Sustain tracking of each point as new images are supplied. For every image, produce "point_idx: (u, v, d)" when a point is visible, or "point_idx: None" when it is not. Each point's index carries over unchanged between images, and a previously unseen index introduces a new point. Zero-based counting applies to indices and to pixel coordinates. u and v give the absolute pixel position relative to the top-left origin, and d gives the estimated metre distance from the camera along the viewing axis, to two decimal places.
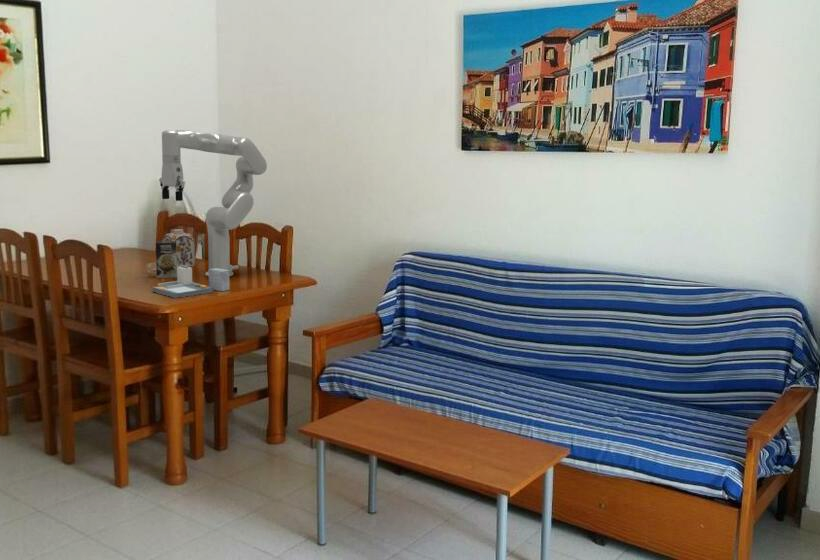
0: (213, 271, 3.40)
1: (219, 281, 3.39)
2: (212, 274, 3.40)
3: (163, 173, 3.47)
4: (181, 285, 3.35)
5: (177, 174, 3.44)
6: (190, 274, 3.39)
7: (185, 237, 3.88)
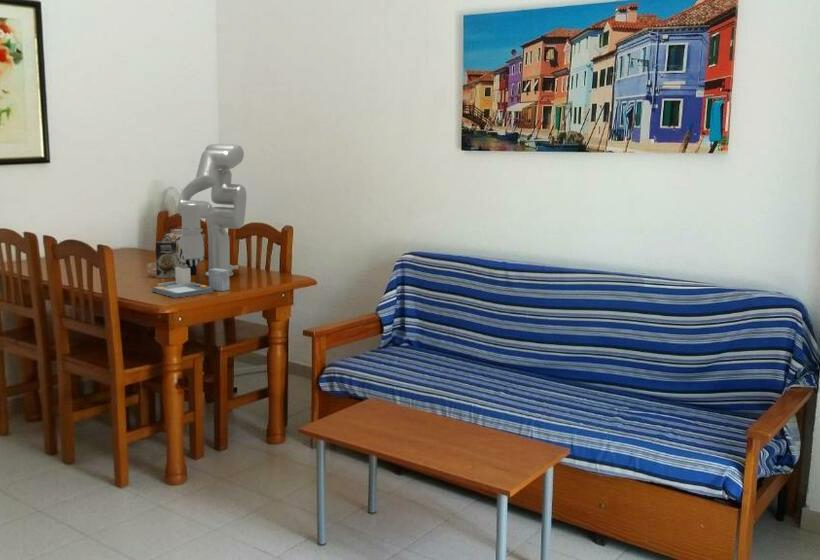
0: (213, 271, 3.40)
1: (219, 281, 3.39)
2: (212, 274, 3.40)
3: (189, 247, 3.37)
4: (181, 285, 3.35)
5: None
6: (188, 274, 3.38)
7: None
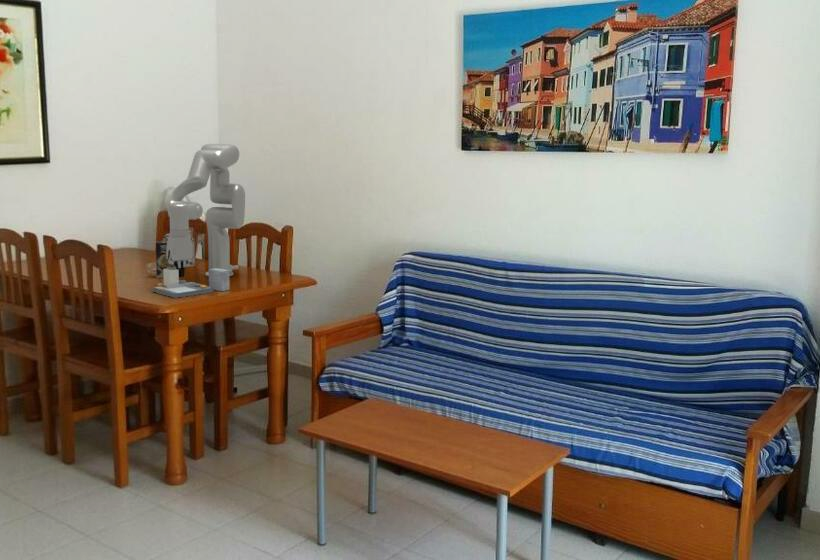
0: (213, 271, 3.40)
1: (219, 281, 3.39)
2: (212, 274, 3.40)
3: (177, 248, 3.32)
4: (181, 285, 3.35)
5: None
6: (176, 276, 3.34)
7: None
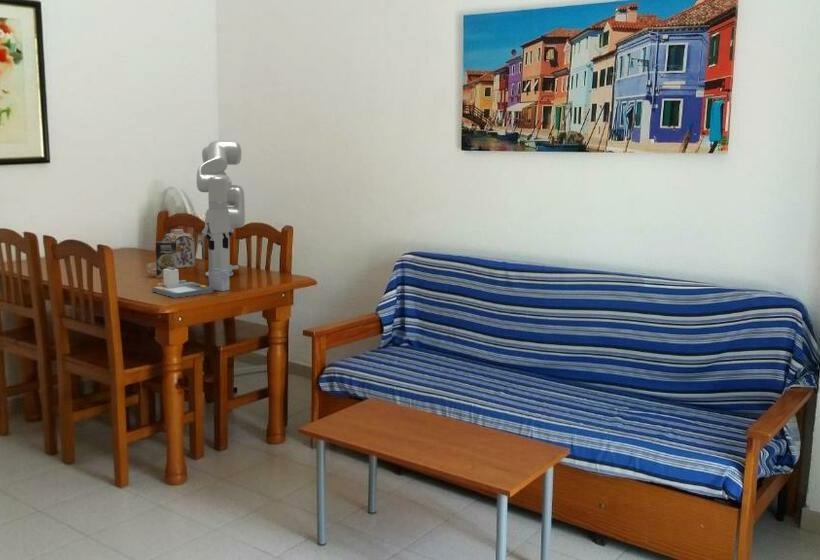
0: (213, 271, 3.40)
1: (219, 281, 3.39)
2: (212, 274, 3.40)
3: (215, 221, 3.33)
4: (181, 285, 3.35)
5: None
6: (176, 276, 3.34)
7: (185, 237, 3.88)
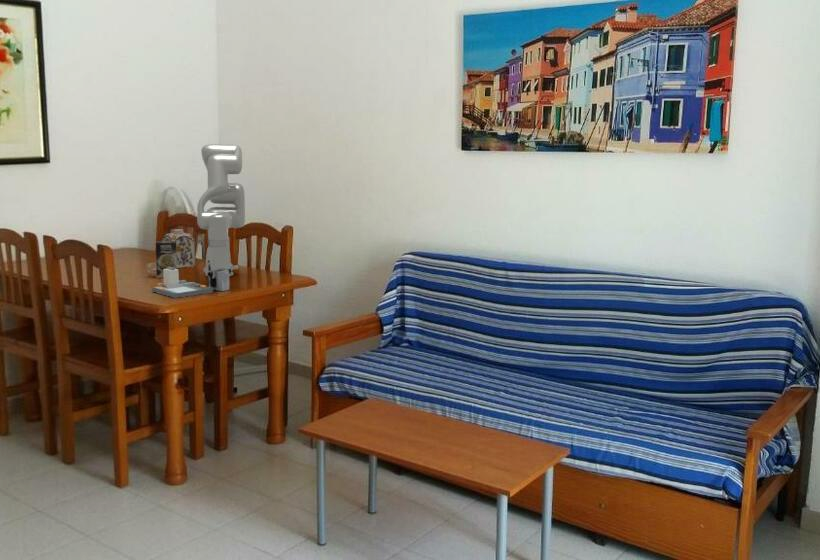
0: None
1: (219, 280, 3.39)
2: None
3: (216, 258, 3.36)
4: (181, 285, 3.35)
5: None
6: (176, 276, 3.34)
7: (185, 237, 3.88)
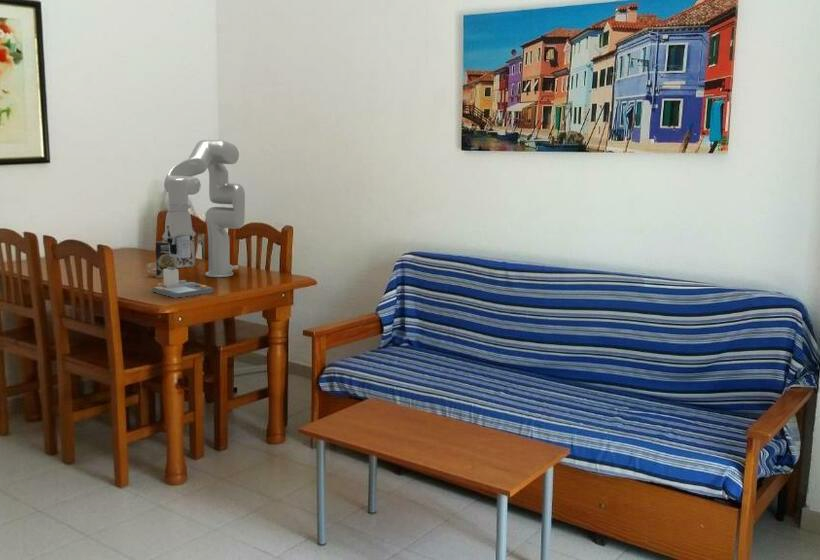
0: None
1: (179, 247, 3.24)
2: None
3: (176, 224, 3.22)
4: (181, 285, 3.35)
5: None
6: (176, 276, 3.34)
7: None
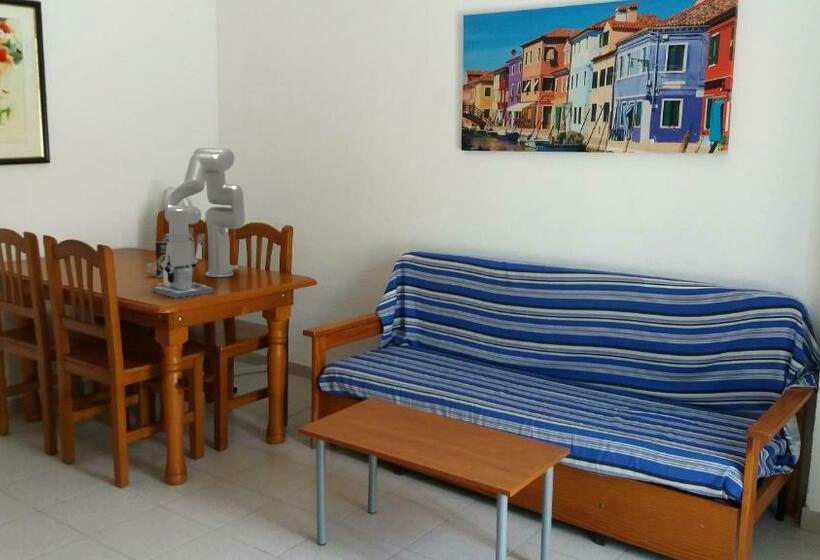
0: (176, 269, 3.27)
1: (180, 279, 3.27)
2: (175, 272, 3.28)
3: (176, 254, 3.24)
4: None
5: None
6: None
7: None
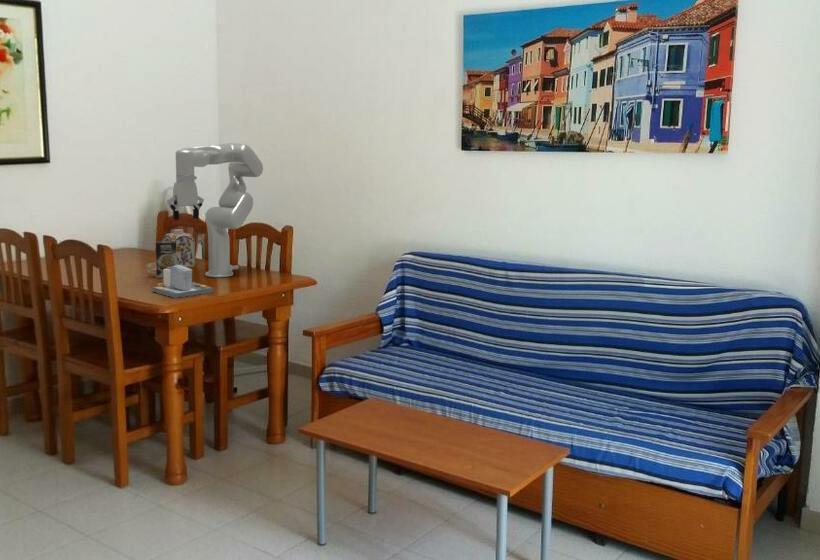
0: (176, 269, 3.27)
1: (180, 279, 3.27)
2: (175, 272, 3.28)
3: (183, 193, 3.42)
4: None
5: None
6: None
7: (185, 237, 3.88)
